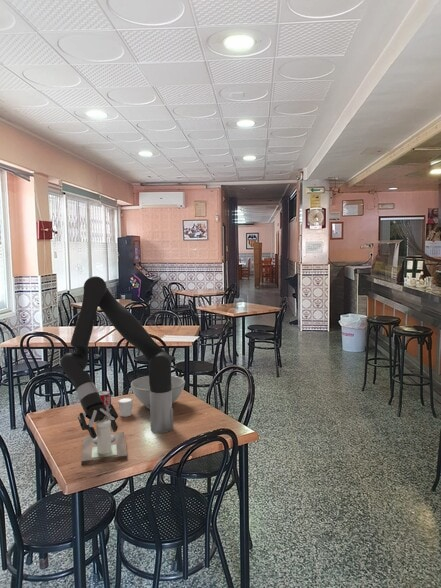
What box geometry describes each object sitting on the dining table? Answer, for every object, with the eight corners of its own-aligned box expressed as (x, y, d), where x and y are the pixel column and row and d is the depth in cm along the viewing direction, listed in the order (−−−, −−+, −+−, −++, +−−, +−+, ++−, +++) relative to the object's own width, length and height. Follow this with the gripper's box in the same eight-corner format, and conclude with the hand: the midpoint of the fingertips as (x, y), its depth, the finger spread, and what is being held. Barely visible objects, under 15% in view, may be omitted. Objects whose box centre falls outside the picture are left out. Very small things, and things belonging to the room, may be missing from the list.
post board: (124, 435, 177) (123, 414, 177) (127, 459, 156) (126, 435, 156) (83, 440, 173) (83, 418, 172) (81, 465, 152) (80, 440, 151)
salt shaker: (111, 446, 163) (110, 419, 162) (111, 452, 158) (110, 424, 157) (97, 448, 161) (96, 420, 160) (97, 454, 156) (96, 425, 155)
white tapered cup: (120, 418, 197) (119, 403, 196) (116, 413, 203) (116, 399, 202) (134, 415, 200) (134, 401, 199) (130, 410, 206) (130, 396, 205)
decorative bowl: (169, 393, 232) (169, 372, 231) (195, 407, 210) (194, 383, 209) (123, 403, 217) (122, 380, 216) (144, 419, 195) (144, 393, 194)
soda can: (102, 422, 192) (101, 396, 191) (92, 418, 196) (91, 393, 195) (114, 417, 198) (114, 392, 196) (105, 414, 202) (104, 389, 201)
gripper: (75, 396, 158) (91, 435, 151) (109, 387, 168) (126, 423, 161) (68, 406, 162) (84, 445, 155) (102, 397, 172) (118, 433, 165)
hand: (105, 434), depth 158 cm, fingers open, 8 cm apart
